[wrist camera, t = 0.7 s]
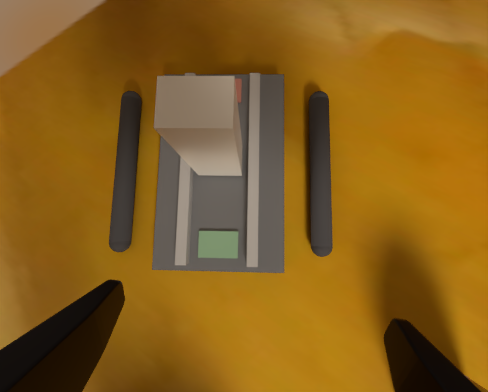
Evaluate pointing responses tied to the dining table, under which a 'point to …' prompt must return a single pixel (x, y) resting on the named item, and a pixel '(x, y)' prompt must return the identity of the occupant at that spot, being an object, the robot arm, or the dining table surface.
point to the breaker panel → (228, 194)
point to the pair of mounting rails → (128, 166)
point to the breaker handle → (201, 122)
